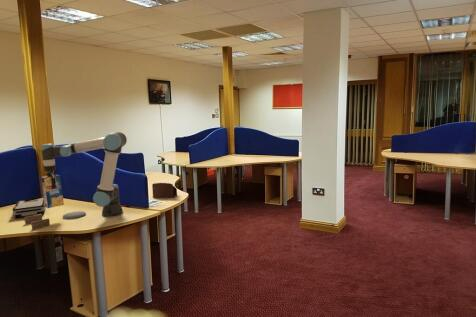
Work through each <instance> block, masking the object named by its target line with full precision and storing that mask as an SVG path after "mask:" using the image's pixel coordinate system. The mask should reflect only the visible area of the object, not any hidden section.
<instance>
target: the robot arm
mask: <svg viewBox="0 0 476 317" xmlns="http://www.w3.org/2000/svg"><path fill="white" fill-rule="evenodd" d="M127 141H128V139H127V136H126V135H125V133H123V132H120V131H117V132H110V133H108V134H106V135H105V136H104V137H99V138H94V139H90V140H89V139H88V140H84V141H79V142H75V143H69V144H65V145H59V146H54V144H53V143H44V144H41V156H42V161H41V163H42V164H43V171H44V172H46V174H45V176H47V177H51V183H52V188H56V181H55V175H56V174H55V173H54V171H56V170H57V168H56V161H55V160H56V159H55V158H58V157H59V158H61V157H65V158H66V157H69V156H71V155H73V154H80V153H84V152H89V151H90V152H91V151H95V150H100V149H103V151H104V152H105V154H104V161H103V166H102V171H101V176H100V177H101V178H100V182H99V184H98V185H97V188H96V192H95V193H94V195H93V197H92V201H93V203H94V204H95V205H96V206H97V207H101V208H102V210H101V216H103V217H116V216H119V215H122V214H123V208H122V205H121V203H120V202H121V201H120V192H119V191H120V190H119V189H120V188H119V185H118V184H116V183H114V180H115V175H116V168H117V164H118V158H119V155H120V154H122V150H123V147H124V146H125V145H127Z"/></svg>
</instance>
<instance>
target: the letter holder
mask: <svg viewBox="0 0 476 317" xmlns="http://www.w3.org/2000/svg"><path fill="white" fill-rule="evenodd" d="M177 196H178V188H177V187H176V186H175V185H174V184H173V183H171V182H155V183H152V198H153V199H175V198H176V197H177Z"/></svg>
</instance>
